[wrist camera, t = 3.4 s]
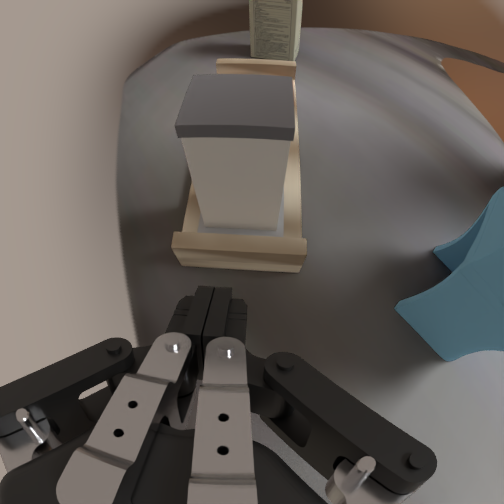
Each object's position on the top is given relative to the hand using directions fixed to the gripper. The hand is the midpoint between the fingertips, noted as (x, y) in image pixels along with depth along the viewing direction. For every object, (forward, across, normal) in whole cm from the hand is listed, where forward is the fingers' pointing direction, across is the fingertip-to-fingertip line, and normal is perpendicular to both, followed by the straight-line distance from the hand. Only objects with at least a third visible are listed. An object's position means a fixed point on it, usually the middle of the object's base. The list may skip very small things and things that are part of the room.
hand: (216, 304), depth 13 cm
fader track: (+18, +1, +6) cm, 19 cm away
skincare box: (+32, +3, +20) cm, 38 cm away
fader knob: (+11, +1, +1) cm, 11 cm away
